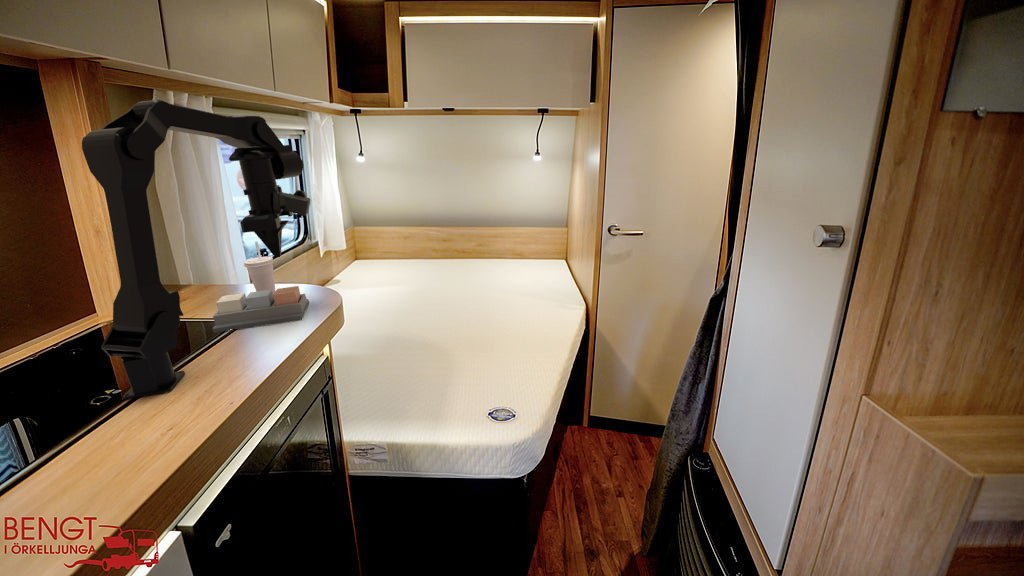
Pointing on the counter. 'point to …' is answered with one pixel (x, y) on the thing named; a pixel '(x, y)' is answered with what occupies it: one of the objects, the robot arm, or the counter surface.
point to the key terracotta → (287, 295)
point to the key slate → (259, 299)
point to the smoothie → (261, 272)
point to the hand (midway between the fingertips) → (278, 256)
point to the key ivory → (231, 303)
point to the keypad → (260, 316)
